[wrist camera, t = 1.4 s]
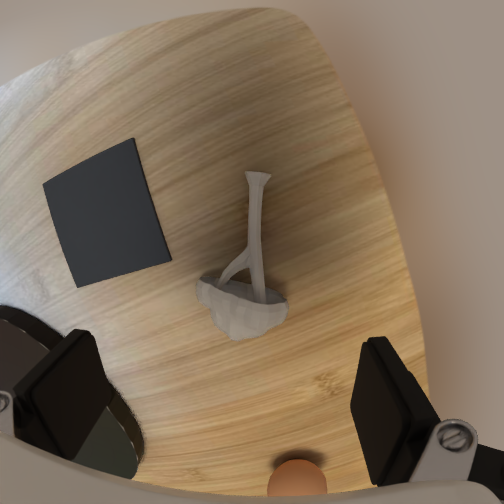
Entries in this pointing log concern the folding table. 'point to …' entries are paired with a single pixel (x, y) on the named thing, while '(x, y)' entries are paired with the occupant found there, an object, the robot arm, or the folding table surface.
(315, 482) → the egg
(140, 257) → the coaster
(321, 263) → the folding table surface
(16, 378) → the disc
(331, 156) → the folding table surface
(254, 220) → the mushroom
